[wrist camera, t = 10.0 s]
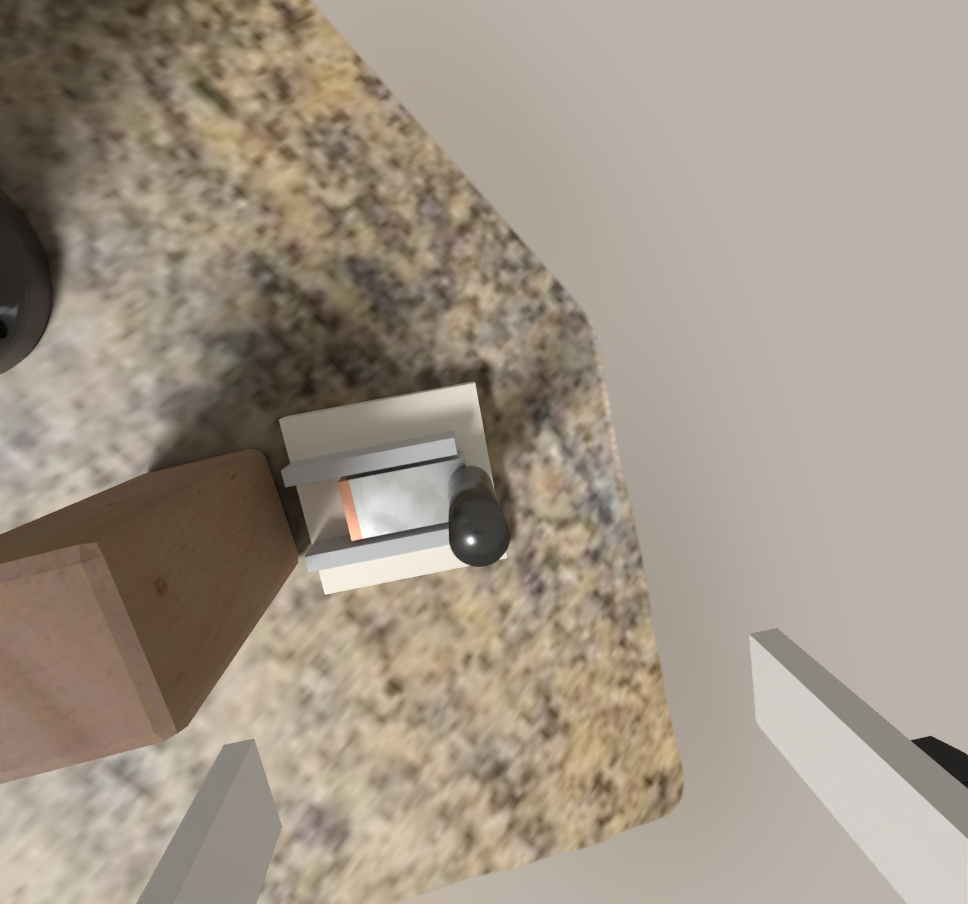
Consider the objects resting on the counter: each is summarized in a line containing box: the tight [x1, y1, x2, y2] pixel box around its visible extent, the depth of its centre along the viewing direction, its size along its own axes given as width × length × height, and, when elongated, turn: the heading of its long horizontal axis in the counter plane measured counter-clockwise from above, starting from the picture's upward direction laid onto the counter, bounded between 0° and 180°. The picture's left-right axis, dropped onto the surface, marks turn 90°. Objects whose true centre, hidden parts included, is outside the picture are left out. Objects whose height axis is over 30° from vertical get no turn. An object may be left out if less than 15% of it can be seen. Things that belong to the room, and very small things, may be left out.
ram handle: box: [337, 451, 510, 567], centre depth 33 cm, size 4×11×12 cm, turn 100°
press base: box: [279, 381, 507, 594], centre depth 39 cm, size 14×14×5 cm
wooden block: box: [0, 449, 298, 784], centre depth 31 cm, size 10×10×20 cm
